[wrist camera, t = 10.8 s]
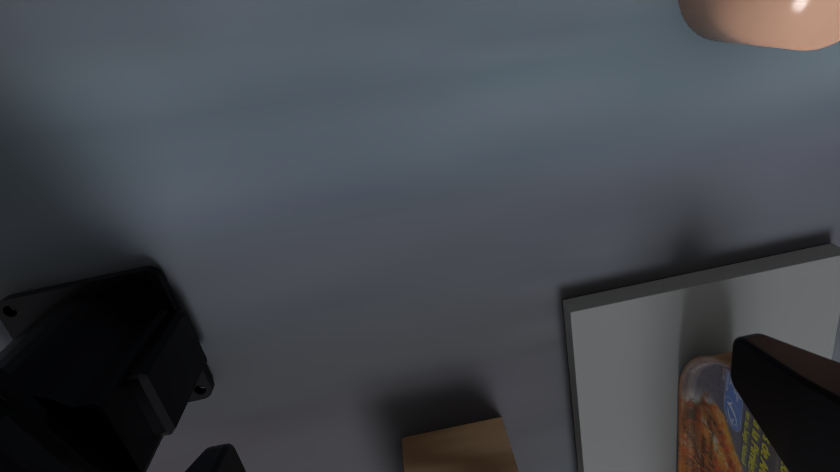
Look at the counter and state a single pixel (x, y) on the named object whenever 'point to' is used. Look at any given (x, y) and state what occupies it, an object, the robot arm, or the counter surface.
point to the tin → (718, 423)
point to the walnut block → (460, 449)
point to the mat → (682, 346)
